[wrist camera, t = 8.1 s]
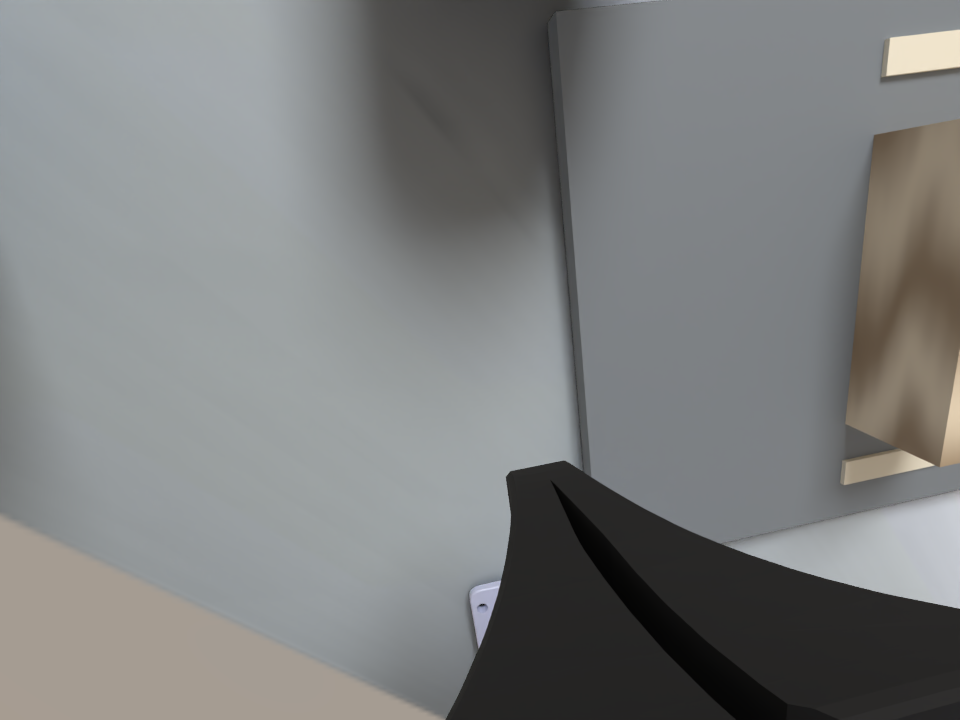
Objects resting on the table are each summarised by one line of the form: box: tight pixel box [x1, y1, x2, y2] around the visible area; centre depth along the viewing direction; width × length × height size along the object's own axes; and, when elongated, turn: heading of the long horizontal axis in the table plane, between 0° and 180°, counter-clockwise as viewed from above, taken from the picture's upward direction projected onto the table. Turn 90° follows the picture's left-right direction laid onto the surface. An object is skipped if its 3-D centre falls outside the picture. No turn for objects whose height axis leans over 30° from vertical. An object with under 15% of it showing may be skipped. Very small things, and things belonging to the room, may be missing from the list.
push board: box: [547, 0, 960, 544], centre depth 20 cm, size 22×27×1 cm
